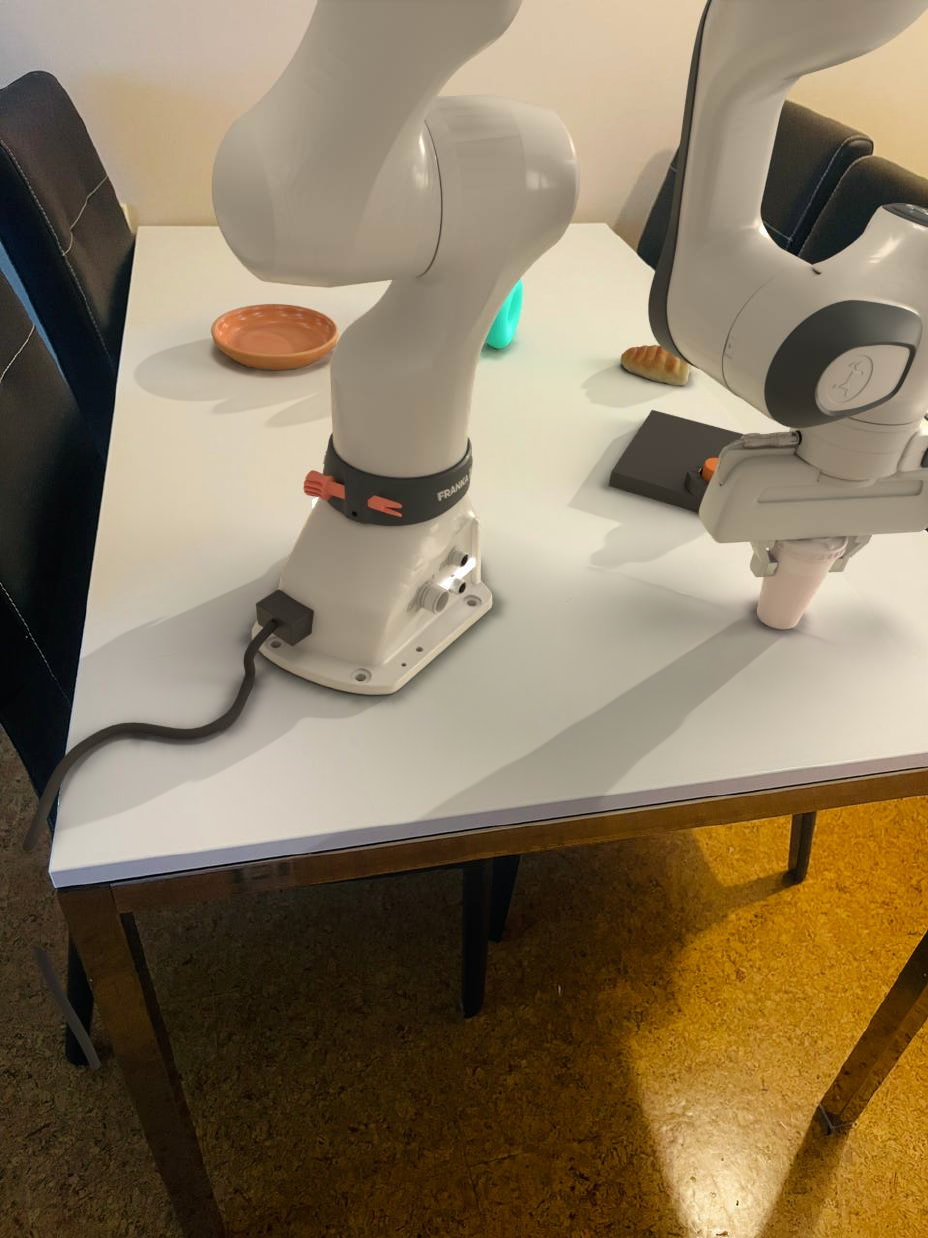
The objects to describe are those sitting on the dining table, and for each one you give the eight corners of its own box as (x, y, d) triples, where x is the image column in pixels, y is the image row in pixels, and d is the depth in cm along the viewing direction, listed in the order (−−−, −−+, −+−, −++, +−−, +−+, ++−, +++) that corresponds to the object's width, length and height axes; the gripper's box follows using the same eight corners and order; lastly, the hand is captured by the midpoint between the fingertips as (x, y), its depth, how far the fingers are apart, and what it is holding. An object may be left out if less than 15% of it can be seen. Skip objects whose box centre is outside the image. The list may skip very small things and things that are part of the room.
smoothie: (815, 645, 79) (873, 515, 70) (742, 632, 80) (789, 501, 70) (809, 600, 84) (862, 472, 74) (740, 588, 84) (784, 460, 75)
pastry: (615, 376, 117) (621, 348, 114) (623, 355, 122) (628, 328, 119) (687, 389, 115) (694, 361, 113) (691, 368, 120) (698, 341, 117)
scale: (729, 524, 92) (738, 496, 90) (607, 488, 96) (612, 460, 94) (759, 453, 104) (768, 426, 101) (648, 423, 107) (654, 397, 105)
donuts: (500, 362, 117) (507, 287, 111) (429, 347, 119) (432, 272, 113) (520, 333, 125) (529, 261, 118) (453, 319, 127) (458, 248, 120)
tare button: (726, 488, 92) (730, 475, 91) (698, 480, 92) (702, 467, 91) (733, 475, 94) (736, 462, 93) (705, 467, 95) (708, 454, 94)
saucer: (349, 330, 122) (348, 309, 120) (323, 383, 110) (322, 360, 108) (234, 318, 122) (232, 297, 120) (196, 370, 110) (193, 347, 108)
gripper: (743, 456, 65) (698, 601, 74) (990, 447, 68) (918, 586, 77) (710, 414, 69) (671, 555, 78) (943, 407, 73) (880, 542, 82)
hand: (795, 570), depth 78 cm, fingers closed on smoothie, 5 cm apart
